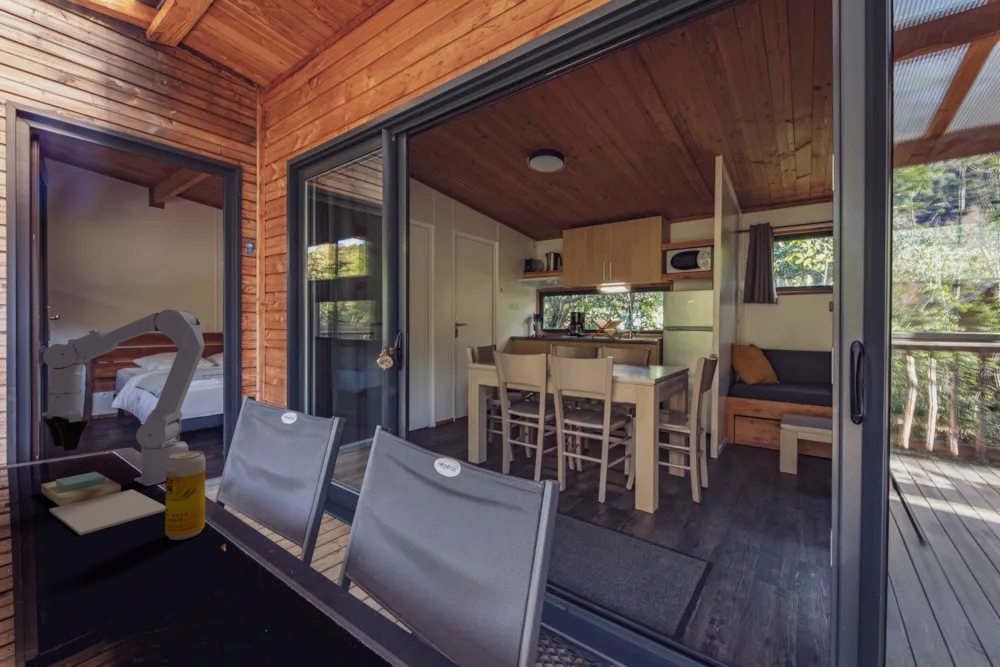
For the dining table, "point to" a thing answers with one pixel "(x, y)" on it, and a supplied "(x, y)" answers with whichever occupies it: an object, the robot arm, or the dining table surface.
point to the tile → (80, 481)
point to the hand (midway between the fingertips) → (65, 447)
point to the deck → (79, 492)
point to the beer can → (185, 495)
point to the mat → (106, 511)
